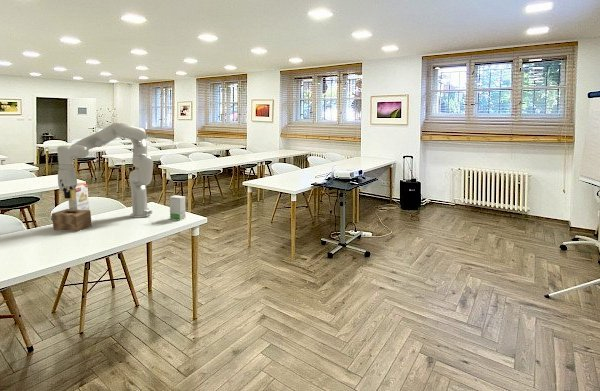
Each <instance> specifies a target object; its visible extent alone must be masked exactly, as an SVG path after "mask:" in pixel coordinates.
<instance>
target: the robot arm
mask: <svg viewBox="0 0 600 391" xmlns="http://www.w3.org/2000/svg"><path fill="white" fill-rule="evenodd" d="M118 137H119V138H124V139H129V140H130V142H132V147H133V148H132V150H133V151H132V161H131V162H132V166H133V167H135V168H138V169H134V170H131V172H130V173H129V176H128V180H129V185H130V190H131V194H130V195H131V208H132V209H131V210H132V212H131V213H130V217H131V218H147V217H149V216H151V215H152V214H153V210H150V208H148V198H147V197H148V195H147V186H148V185H150V184H151V182H152V180H153V172H154V171H153V170H154V160H153V158H152V156H149V155H148V144H147V141H146V137H147V132H146V130H145V128H142V127H139V126H135V125H131V124H126V123H123V122H114V123H112V124H108V126H106V127H104V128H102V129H100V130H99V131H97V132H95V133H93V134H91V135H89V136H86V137H83V138H82V139H80V140H78V141H76V142H74V143H73V144H71V145H59V146H57V148H56V151H57V152H56V154H57V161H58V162H57V163H58V171H57V186H58V189H59V190H61V191H62V193H63V192H64V197H65V198H68V199H69V198H70V193H69V192H68V191H69V189H75V187H76V186H77V185H78V184H79V183H78V179H77V177H78V176H77V173H76V169H75V163H74V159H75V158H76V159H84V158H87V157H88V155H89V154H90V152H89V151H90V150H92V149H94V148H99V147H102V146H105V145H107V144H109V143H110V142H112V141H114V140H115V139H118ZM71 186H72V187H71ZM68 187H69V189H68Z"/></svg>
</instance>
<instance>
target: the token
mask: <svg viewBox="0 0 600 391" xmlns="http://www.w3.org/2000/svg"><path fill="white" fill-rule="evenodd" d="M68 192H69V193H70V198H69V199H68V198H65V197H64V192H63V191H62V198H63V201H64V200H65V201H69V200H75V199H76V191H75V189H69V191H68Z"/></svg>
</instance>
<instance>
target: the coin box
mask: <svg viewBox="0 0 600 391" xmlns="http://www.w3.org/2000/svg"><path fill="white" fill-rule="evenodd" d="M51 220H52V227H53V229H52V230H54V231H65V232H77V233H78V232H81V231H83V230H85V229H88V228H90V227H92V226H93V224H92V214H91V210H90V209H89V210H77V209H69V208H65V209H62V210H59V211H56V212H53V213H51ZM80 230H81V231H80Z"/></svg>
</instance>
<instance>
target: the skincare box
mask: <svg viewBox="0 0 600 391" xmlns="http://www.w3.org/2000/svg"><path fill="white" fill-rule="evenodd" d="M184 218H185V219H186V196H184V195H183V196H182V195H176V194H175V195H171V196H169V219H170V220H173V221H174V220H175V221H179V220H181V221H183V220H185V219H184ZM182 219H183V220H182Z"/></svg>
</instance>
